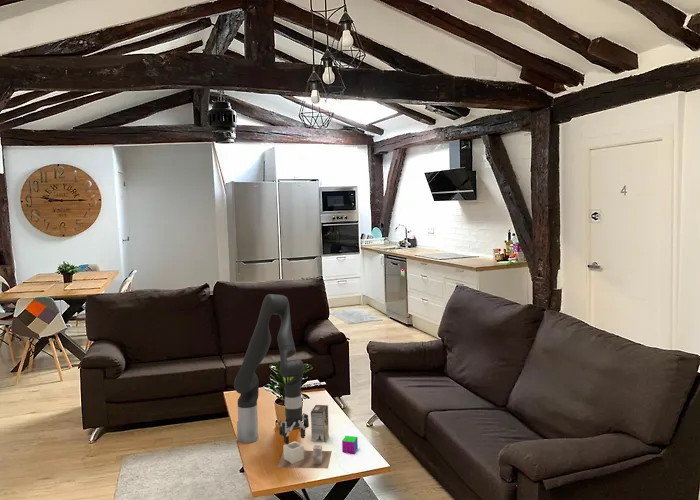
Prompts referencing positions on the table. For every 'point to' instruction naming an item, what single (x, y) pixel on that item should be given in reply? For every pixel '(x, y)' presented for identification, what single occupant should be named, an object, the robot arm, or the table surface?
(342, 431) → the table surface
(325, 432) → the coffee box
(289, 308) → the robot arm
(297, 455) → the hollow square box
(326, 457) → the post board
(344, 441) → the puzzle toy
